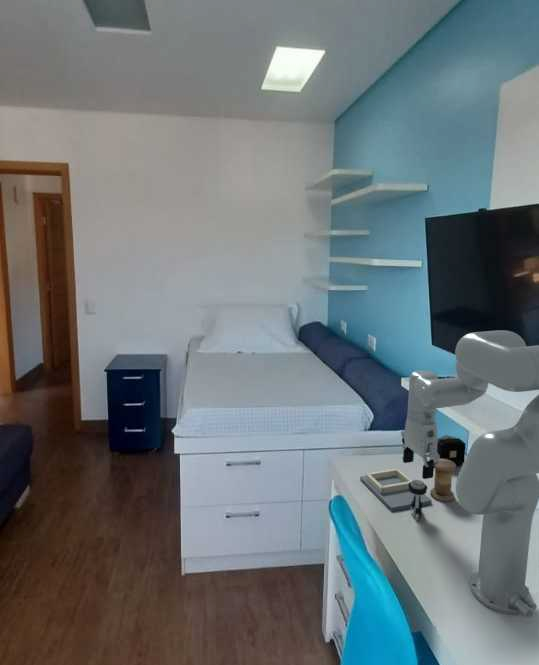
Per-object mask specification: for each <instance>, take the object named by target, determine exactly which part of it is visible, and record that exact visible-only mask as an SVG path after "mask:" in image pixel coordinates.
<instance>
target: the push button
mask: <svg viewBox="0 0 539 665" xmlns="http://www.w3.org/2000/svg"><path fill="white" fill-rule="evenodd" d="M408 487H409V490H410V492H411V493H413V494H414V498H413V501H412V502H411V506H412V507H411V508H410V512H412V513H413V514H412V515H413V519H415V521H419V519H420V517H421V516H422V515H423V513H422V512H423V509H422V508H423V506H422V502H421V496H420V495H423V494H425V495H426V493H427V491H428V486H427V484H425V482H424V481H423V480H419V479H414V480H412V482H410V483H409V484H408Z"/></svg>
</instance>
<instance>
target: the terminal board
mask: <svg viewBox="0 0 539 665" xmlns="http://www.w3.org/2000/svg"><path fill="white" fill-rule="evenodd" d="M359 481H361V483H363V485H364V486H365V487H366V488H368V490H369V491H370V492H372V494H373V495H374V496H375V497H376V498H377V499H378V500H379V501H380V502H381V503H382V504H383V505H384V506H385V507H386V508H387V509H388V510H389V511H390V512H395V511H400V510H405V509H411V507H412V506H411V502H412V501H413V498H414V494H413V493H411V492H410V490H409V487H408V484H409V483H410V482H412V481H413V480H412V479H410V477H408V476H407V475H406V474H405V473H404V472H402V471H401V469H399V468H393V469H385V470H380V471H373V472H368V473H365V475H362V476H360V477H359ZM420 496H421V502H422V507H423V506H427V505H432V499H431V498H430V497H428V496H427V495H426V493H425V494H423V495H420Z"/></svg>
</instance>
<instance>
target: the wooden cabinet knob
mask: <svg viewBox="0 0 539 665" xmlns="http://www.w3.org/2000/svg"><path fill="white" fill-rule="evenodd" d="M434 470H435V471H434V483H433V484H434V485H433V488H431V489H430V497H431V498H432V499H434V500H436V501H439V502H444V503H450V502H452V501H454V498H455V493H454V492H453V490H452V482H453V481H452V479H453V478H452V477H453V472H454V471H456V470H457V466H456V464H455V463H454V462H453V461H450V460H447V459H439V460H438V463H437V464H436V465H435V466H434Z"/></svg>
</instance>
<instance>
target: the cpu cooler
mask: <svg viewBox="0 0 539 665" xmlns="http://www.w3.org/2000/svg"><path fill="white" fill-rule="evenodd" d="M437 453H438V454H439V456H440V458H439V459H447V460H450V461H453V462H454V463H455V464H456V467H458V466H461V467H462V465H463V463H464V461H465V459H466V458H465V455H466V443H465V442H464V441H463V440H462V439H460V438H459V437H458V438H457V437H455V436H451V435H447V434H445V435H443V436H441V437H439V438H438V437H437Z"/></svg>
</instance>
